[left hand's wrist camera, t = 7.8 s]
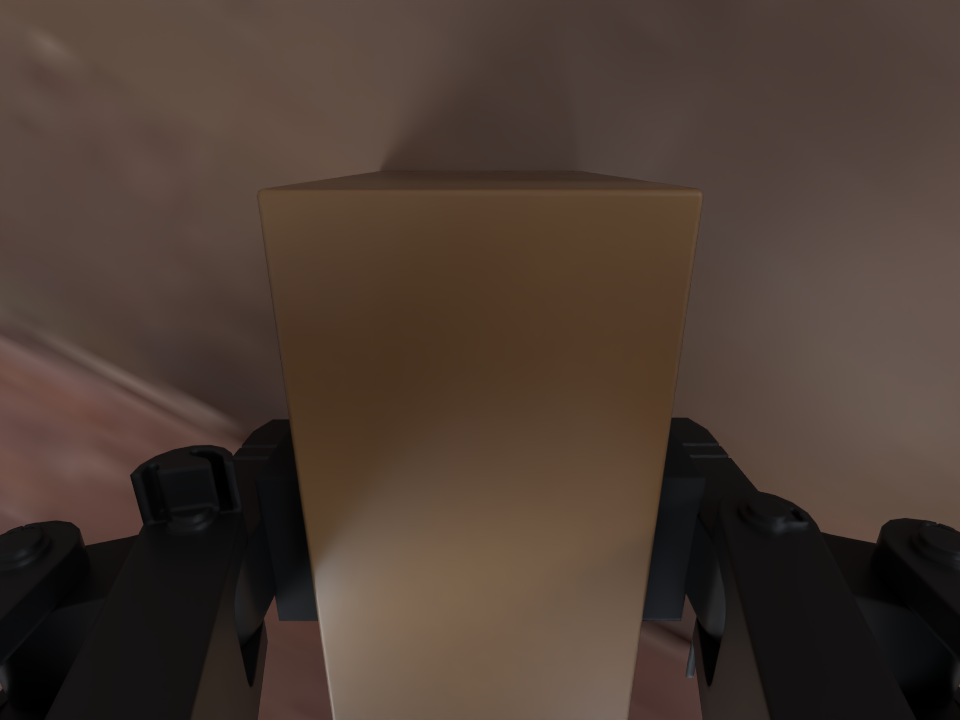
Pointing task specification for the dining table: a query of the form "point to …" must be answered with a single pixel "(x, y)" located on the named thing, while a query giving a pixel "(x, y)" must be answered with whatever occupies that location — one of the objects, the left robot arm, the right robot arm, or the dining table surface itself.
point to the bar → (480, 429)
